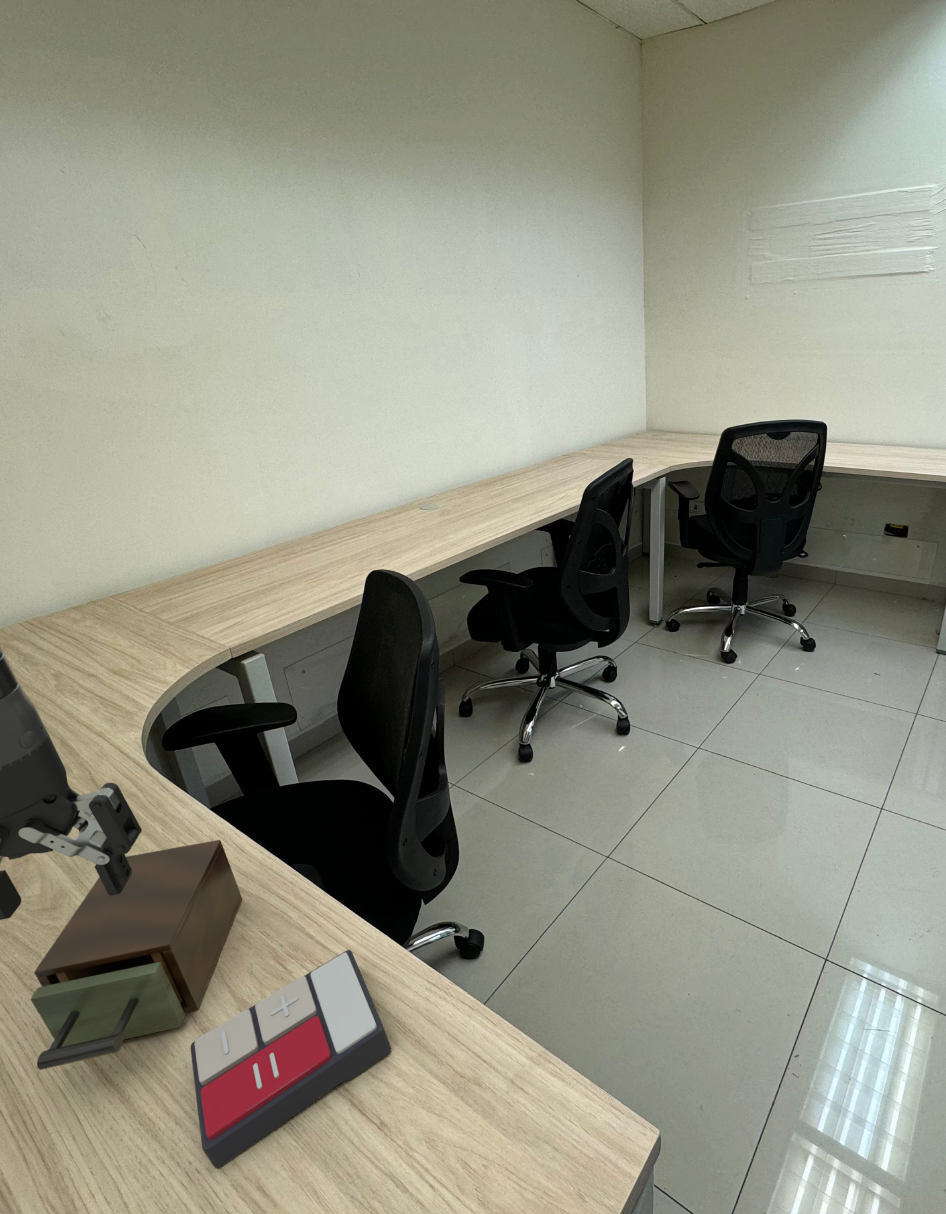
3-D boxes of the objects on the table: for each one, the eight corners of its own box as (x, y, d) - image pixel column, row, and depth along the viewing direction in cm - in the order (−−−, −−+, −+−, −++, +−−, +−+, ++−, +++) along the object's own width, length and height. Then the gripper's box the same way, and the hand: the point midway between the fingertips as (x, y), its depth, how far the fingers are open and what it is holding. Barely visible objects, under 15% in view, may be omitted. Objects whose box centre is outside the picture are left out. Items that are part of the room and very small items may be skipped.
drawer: (159, 1078, 57) (130, 1022, 54) (31, 1109, 56) (-7, 1053, 53) (226, 916, 74) (207, 866, 71) (129, 935, 72) (105, 885, 69)
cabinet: (198, 1010, 64) (168, 944, 61) (72, 1038, 62) (33, 972, 58) (242, 898, 78) (220, 839, 74) (139, 919, 75) (111, 858, 72)
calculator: (186, 1038, 58) (348, 942, 66) (202, 1065, 60) (358, 969, 68) (198, 1147, 50) (382, 1023, 58) (217, 1176, 52) (393, 1051, 59)
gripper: (109, 708, 54) (170, 851, 60) (-87, 740, 51) (-1, 887, 57) (62, 758, 47) (137, 913, 54) (-166, 798, 44) (-59, 957, 51)
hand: (66, 899), depth 55 cm, fingers open, 8 cm apart
